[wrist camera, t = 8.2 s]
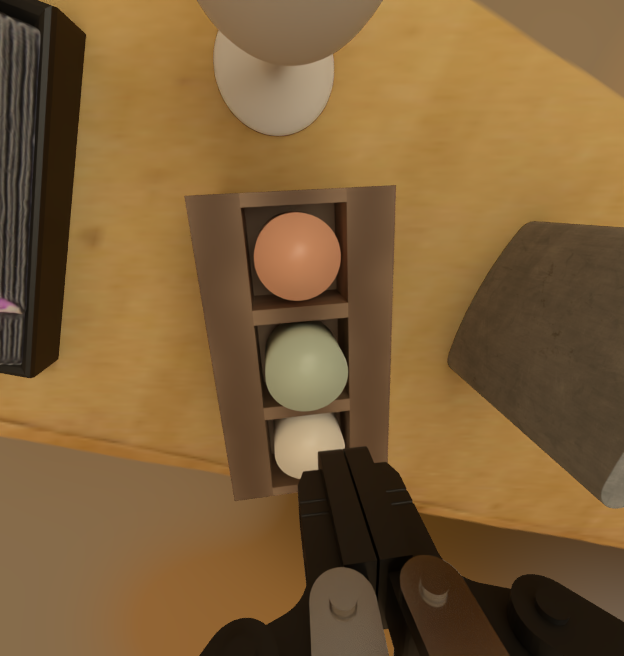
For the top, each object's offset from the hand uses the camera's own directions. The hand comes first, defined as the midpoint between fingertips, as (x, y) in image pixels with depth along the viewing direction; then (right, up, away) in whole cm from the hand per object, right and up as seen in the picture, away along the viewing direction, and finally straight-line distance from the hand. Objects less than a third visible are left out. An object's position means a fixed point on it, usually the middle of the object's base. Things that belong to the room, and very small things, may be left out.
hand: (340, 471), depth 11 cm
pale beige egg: (-1, -3, +16) cm, 17 cm away
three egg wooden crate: (-3, +6, +21) cm, 22 cm away
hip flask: (+17, +7, +23) cm, 30 cm away
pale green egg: (-2, +3, +13) cm, 13 cm away
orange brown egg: (-2, +9, +12) cm, 15 cm away
